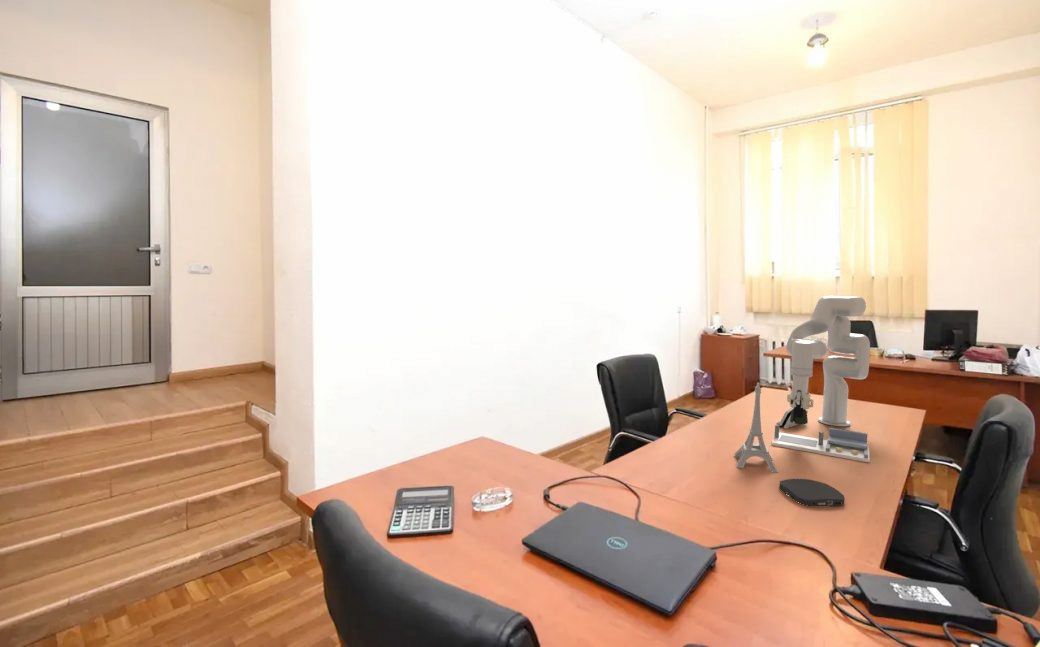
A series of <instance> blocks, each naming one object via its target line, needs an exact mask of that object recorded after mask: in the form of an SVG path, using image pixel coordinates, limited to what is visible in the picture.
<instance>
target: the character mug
mask: <svg viewBox="0 0 1040 647" xmlns="http://www.w3.org/2000/svg"><path fill="white" fill-rule="evenodd" d="M791 396H792V390H790V394H789V393H788V394H787V396H786V401H787V403H789V407H790V408H794V407H795V399H793V400H792V399H791ZM796 396H797V395H796ZM796 398H797V397H796ZM800 400H802V396H801V398H800ZM810 408H814V399H812V398H811V393H810V392H809V391H808V393H807V394H806V399H805V401H803V418H799V417H794V409H792V413H791V417H790V422H791V423H793V421H794V422H795V424H798V425H807V424H809V422H808V413H807V412H806V410H808V409H810ZM805 409H806V410H805Z"/></svg>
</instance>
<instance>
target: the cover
mask: <svg viewBox="0 0 1040 647" xmlns="http://www.w3.org/2000/svg"><path fill="white" fill-rule="evenodd" d="M828 432H829V436H828V438H829V439H828V438H827V440H828V443H833V444H839V445H845V446H851V447H857V448H864V449H867V444H868V436H869V435H868V432H860V431H855V430H848V429H842V428H841V429H840V428H833V427H829V431H828Z"/></svg>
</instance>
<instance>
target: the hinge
mask: <svg viewBox="0 0 1040 647" xmlns="http://www.w3.org/2000/svg"><path fill="white" fill-rule="evenodd" d="M792 409H794V408H792V407H790V408H789V409H787V410H786V411H785V412H784V414H783V416H782V418H781V420H780V421H777V422H776V424H775V425H779V427H780V426H781V427H783V429H785V430H786V429H789V427H790V428H792V427H795V426H797V425H799V424H795V422H794V421H793V423H791V422H790V417H791V413H792ZM805 410H806V412H807V414H808V412H809V411H808V409H805Z"/></svg>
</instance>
